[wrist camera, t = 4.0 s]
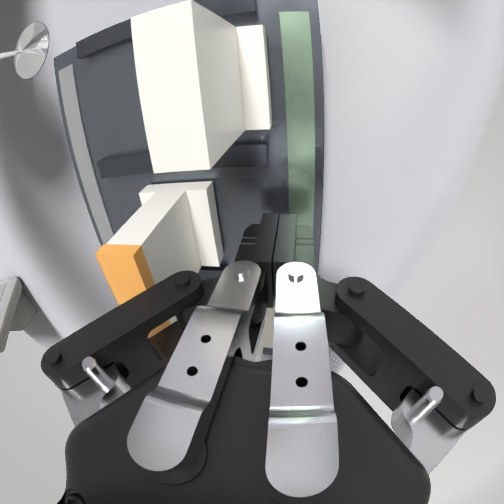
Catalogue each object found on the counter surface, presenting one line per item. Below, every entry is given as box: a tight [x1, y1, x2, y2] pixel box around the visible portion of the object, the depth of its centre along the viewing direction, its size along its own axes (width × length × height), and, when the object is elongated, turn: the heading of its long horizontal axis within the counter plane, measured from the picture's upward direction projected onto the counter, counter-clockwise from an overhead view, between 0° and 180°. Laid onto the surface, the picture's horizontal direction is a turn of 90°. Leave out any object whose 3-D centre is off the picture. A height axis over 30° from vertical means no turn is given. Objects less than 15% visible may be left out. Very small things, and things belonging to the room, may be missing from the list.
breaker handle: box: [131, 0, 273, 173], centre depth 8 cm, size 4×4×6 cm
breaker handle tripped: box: [95, 181, 224, 338], centre depth 12 cm, size 4×4×6 cm
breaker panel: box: [54, 0, 324, 355], centre depth 16 cm, size 14×22×4 cm, turn 4°
